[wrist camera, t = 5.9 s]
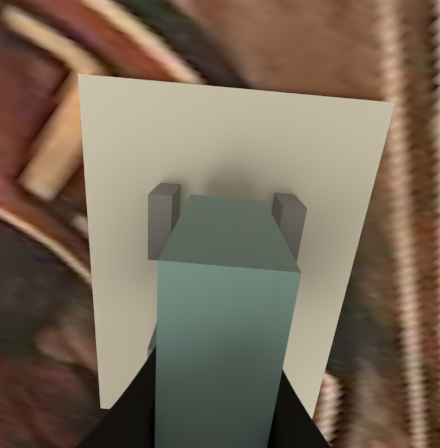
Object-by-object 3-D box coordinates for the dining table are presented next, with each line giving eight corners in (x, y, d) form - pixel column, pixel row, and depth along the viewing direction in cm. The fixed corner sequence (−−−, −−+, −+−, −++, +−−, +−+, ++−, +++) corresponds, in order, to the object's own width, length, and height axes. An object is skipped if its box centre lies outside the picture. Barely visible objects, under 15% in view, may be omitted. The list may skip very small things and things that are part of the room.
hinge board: (107, 392, 21) (84, 445, 17) (89, 77, 14) (45, 63, 11) (305, 408, 21) (321, 465, 17) (381, 104, 14) (430, 98, 11)
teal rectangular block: (179, 413, 16) (151, 577, 10) (191, 194, 12) (157, 260, 6) (235, 417, 16) (239, 584, 10) (265, 200, 12) (301, 272, 6)
